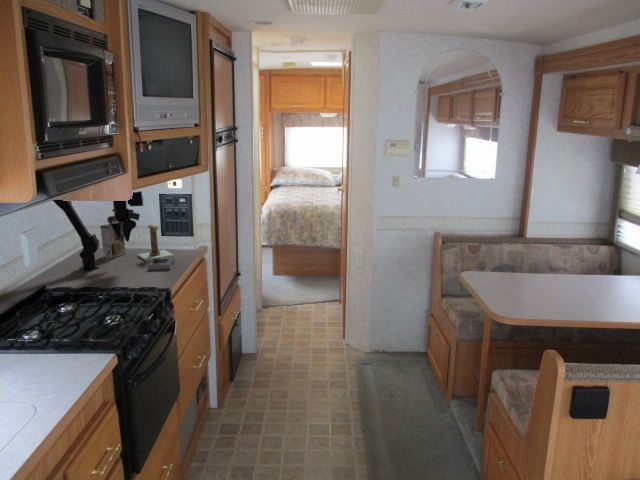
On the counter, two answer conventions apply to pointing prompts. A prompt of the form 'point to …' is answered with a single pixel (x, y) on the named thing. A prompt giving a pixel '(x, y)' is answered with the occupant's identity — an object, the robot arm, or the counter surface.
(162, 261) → the lock plate
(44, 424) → the counter surface
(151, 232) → the brown wooden column
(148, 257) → the pale green flat slab
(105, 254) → the coffee box
